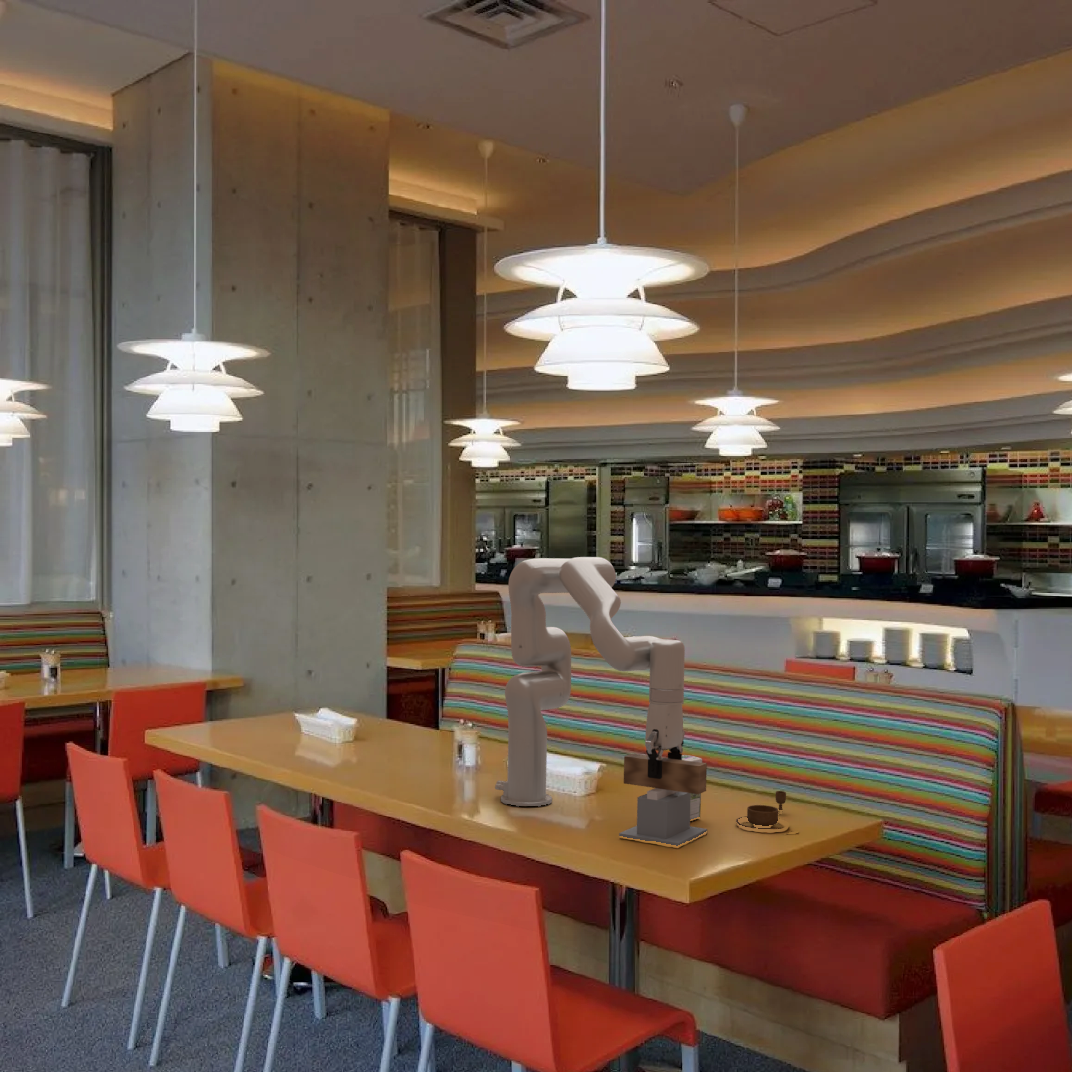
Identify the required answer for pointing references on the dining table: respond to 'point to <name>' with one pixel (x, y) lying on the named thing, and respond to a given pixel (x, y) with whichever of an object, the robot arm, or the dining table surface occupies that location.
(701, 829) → the stand
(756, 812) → the place setting
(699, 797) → the syrup box
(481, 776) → the dining table surface
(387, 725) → the dining table surface
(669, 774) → the walnut bar
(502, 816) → the dining table surface
